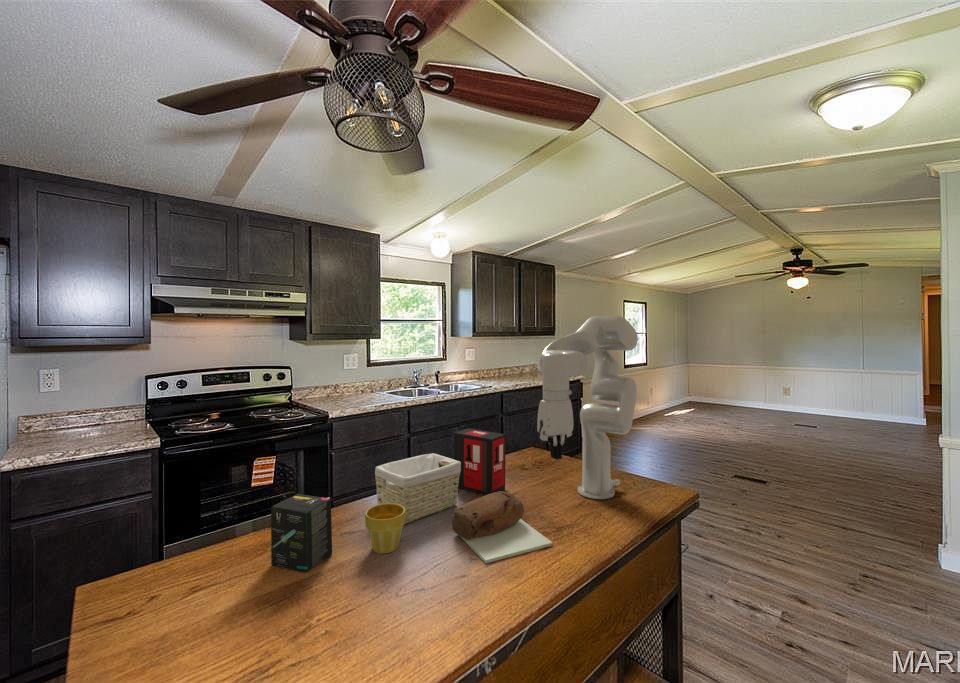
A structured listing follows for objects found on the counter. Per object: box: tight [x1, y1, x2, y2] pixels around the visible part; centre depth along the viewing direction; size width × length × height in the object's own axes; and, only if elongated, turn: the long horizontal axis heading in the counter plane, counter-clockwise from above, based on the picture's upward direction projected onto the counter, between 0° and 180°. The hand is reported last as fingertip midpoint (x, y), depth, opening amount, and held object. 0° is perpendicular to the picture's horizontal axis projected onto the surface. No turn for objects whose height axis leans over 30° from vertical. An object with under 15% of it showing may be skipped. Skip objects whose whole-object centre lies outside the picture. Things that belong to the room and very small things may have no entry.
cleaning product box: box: [453, 428, 506, 496], centre depth 155 cm, size 16×9×20 cm, turn 55°
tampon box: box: [270, 493, 333, 574], centre depth 106 cm, size 11×9×15 cm
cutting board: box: [458, 518, 553, 564], centre depth 117 cm, size 20×17×1 cm
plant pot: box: [364, 503, 406, 554], centre depth 112 cm, size 10×10×10 cm
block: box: [451, 491, 525, 539], centre depth 123 cm, size 11×8×20 cm
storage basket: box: [374, 452, 461, 525], centre depth 137 cm, size 24×16×15 cm
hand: (556, 457), depth 125 cm, fingers closed
